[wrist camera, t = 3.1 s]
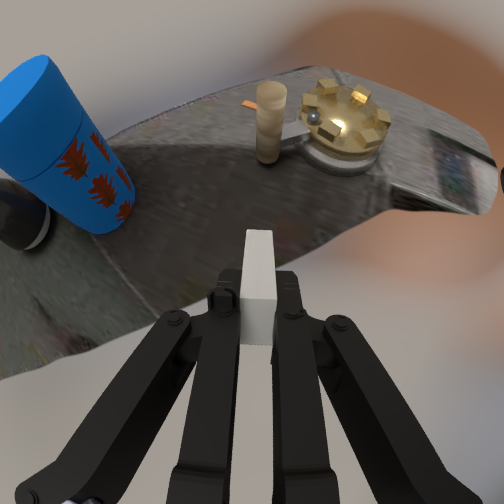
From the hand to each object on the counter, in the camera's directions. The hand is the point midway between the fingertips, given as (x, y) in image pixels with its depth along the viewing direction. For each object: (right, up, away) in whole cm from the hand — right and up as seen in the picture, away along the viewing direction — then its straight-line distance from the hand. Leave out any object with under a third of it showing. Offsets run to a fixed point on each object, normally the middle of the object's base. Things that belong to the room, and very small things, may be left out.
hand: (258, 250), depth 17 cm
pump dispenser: (-37, +4, +20) cm, 42 cm away
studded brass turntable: (+10, +17, +22) cm, 29 cm away
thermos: (-23, +7, +21) cm, 32 cm away
